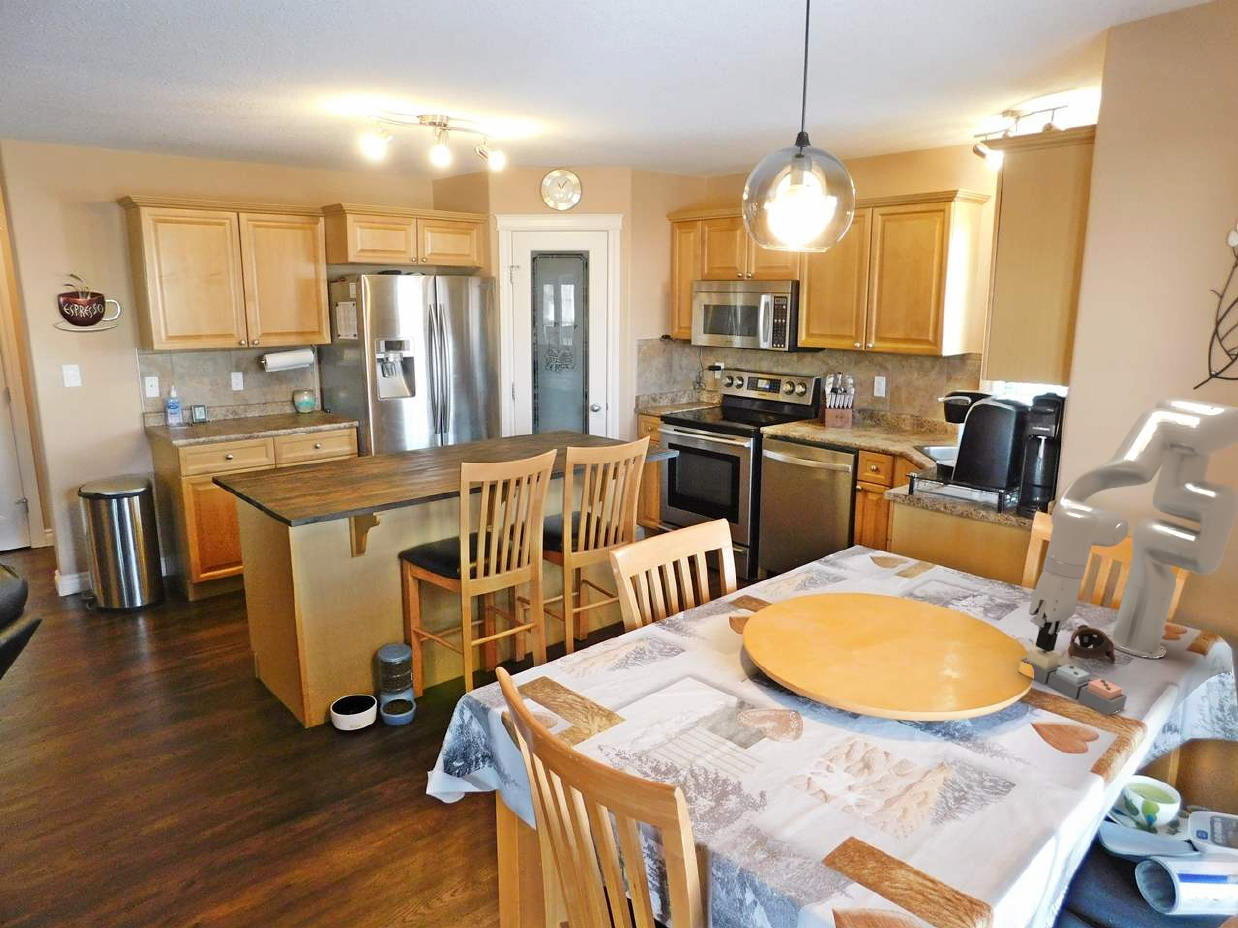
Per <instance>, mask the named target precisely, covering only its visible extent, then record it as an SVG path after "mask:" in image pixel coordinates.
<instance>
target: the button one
mask: <svg viewBox="0 0 1238 928" xmlns="http://www.w3.org/2000/svg"><path fill="white" fill-rule="evenodd" d="M1026 657H1027V661H1028V662H1031V663H1032V664H1035V665H1037V666H1039V667H1041V668H1043V669H1045V670H1049V669H1052V668H1055V667H1058V664H1059V663H1060V659H1061V654H1060V653H1057V652H1055V651H1054V650H1053V651H1050V652H1047V651H1045V650H1043V649H1041V648H1039V647H1037V646H1036V647H1032V648H1029V649H1028V653H1027V656H1026Z"/></svg>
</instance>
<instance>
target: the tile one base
mask: <svg viewBox="0 0 1238 928" xmlns="http://www.w3.org/2000/svg"><path fill="white" fill-rule="evenodd" d="M1027 657H1028V656H1026V657H1023V658H1020V661H1022V662H1024V663H1027V664H1030V665H1032V667H1033V669H1034V679H1033V680H1034V681H1036V682H1038V683H1040V684H1042V685H1044V686H1045V685H1046V686H1047V684H1048V680H1049V675H1050V673H1052V672H1055V671H1057V668H1059V667H1062V666H1063V665H1061V664H1059V663H1058V667H1055V668H1052V669H1049V670H1045V669H1043V668H1041V667H1039V666H1037V665H1035V664H1032V663H1030V662H1028V661H1026V660H1027Z"/></svg>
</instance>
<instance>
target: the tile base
mask: <svg viewBox="0 0 1238 928" xmlns="http://www.w3.org/2000/svg"><path fill="white" fill-rule="evenodd" d="M1087 687H1088V685H1087V686H1085V687H1082V688H1081V690H1080V694H1079V698H1078V699H1077V702H1079V703H1080V704H1083V705H1084V706H1087V707H1089V708H1091V709H1092V710H1094V711H1096V712H1099V713H1100V714H1103V715H1105V714H1106V715H1105V716H1107V715H1109V716H1111V715H1110V714H1112V713H1114V712H1116V711H1119V710H1121V709H1123V708H1124V709H1125V705H1126V701H1127V697H1128V696H1127V695H1126V694H1124V693H1121V696H1120V697H1118V698H1115V699H1113V700H1108V699H1106V698H1104V697H1101V696H1099V695H1097V694H1095V693H1093V692H1091V691H1089V690H1087ZM1124 709H1123V710H1124ZM1121 711H1122V710H1121ZM1119 712H1120V711H1119ZM1116 713H1117V712H1116ZM1114 714H1115V713H1114ZM1112 715H1113V714H1112Z"/></svg>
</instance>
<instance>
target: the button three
mask: <svg viewBox="0 0 1238 928" xmlns="http://www.w3.org/2000/svg"><path fill="white" fill-rule="evenodd" d="M1093 680H1094V679H1093ZM1087 690H1089V691H1091V692H1093V693H1095V694H1097V695H1099V696H1101V697H1104V698H1106V699H1108V700H1113V699H1115V698H1118V697H1120V696H1121V694H1122V693H1123V687H1120V686H1118V685H1116V684H1113V683H1111V682H1109V681H1107V680H1105V679H1103V678H1097V679H1095V680H1094V681H1091V682H1089V683H1088V687H1087Z"/></svg>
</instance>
